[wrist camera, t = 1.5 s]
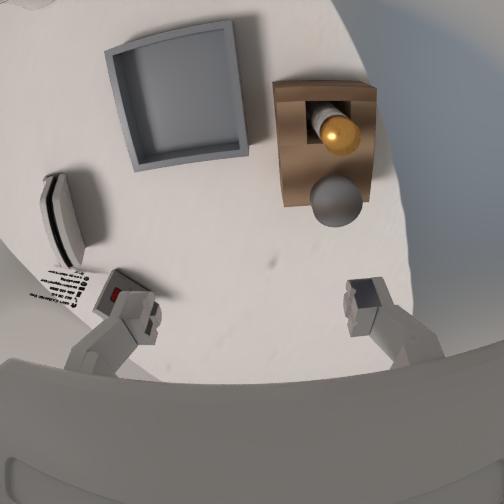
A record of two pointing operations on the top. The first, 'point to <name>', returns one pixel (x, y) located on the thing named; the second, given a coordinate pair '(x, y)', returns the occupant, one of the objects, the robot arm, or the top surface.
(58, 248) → the black-striped white block
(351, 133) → the gold-capped glass vial
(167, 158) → the tray
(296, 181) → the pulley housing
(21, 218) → the top surface
